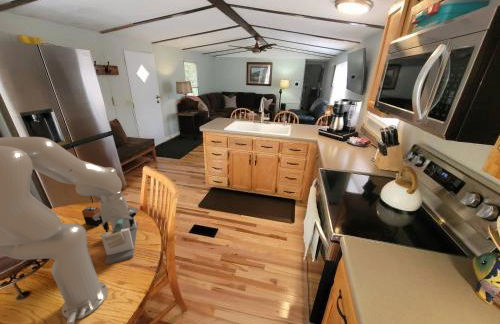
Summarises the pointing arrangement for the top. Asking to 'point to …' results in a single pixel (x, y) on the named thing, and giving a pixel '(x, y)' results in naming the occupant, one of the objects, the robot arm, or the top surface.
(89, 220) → the battery
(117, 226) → the dowel bar
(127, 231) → the stand
